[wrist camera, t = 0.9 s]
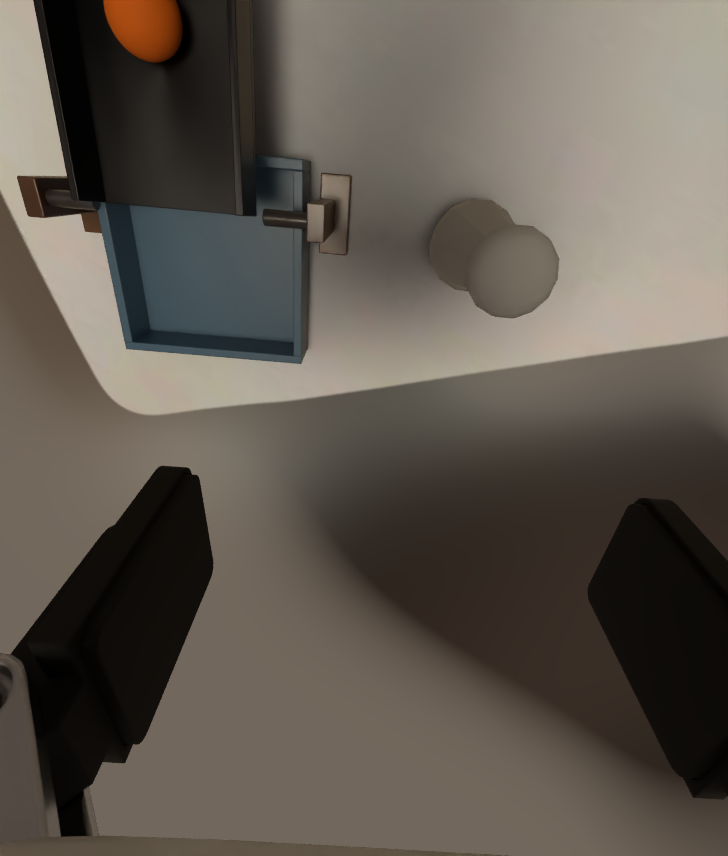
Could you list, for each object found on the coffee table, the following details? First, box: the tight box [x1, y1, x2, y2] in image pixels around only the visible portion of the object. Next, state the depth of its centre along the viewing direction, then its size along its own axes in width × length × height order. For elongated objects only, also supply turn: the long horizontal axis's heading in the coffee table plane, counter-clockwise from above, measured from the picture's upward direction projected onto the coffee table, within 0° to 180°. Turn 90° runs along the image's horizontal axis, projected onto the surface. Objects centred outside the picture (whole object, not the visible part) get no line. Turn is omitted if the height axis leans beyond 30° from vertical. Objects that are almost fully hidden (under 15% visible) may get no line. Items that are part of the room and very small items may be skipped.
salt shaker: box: [430, 199, 559, 318], centre depth 25 cm, size 6×6×13 cm
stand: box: [17, 173, 351, 255], centre depth 27 cm, size 5×19×7 cm, turn 85°
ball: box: [103, 0, 183, 63], centre depth 19 cm, size 3×3×3 cm
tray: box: [98, 155, 311, 364], centre depth 30 cm, size 13×13×4 cm
